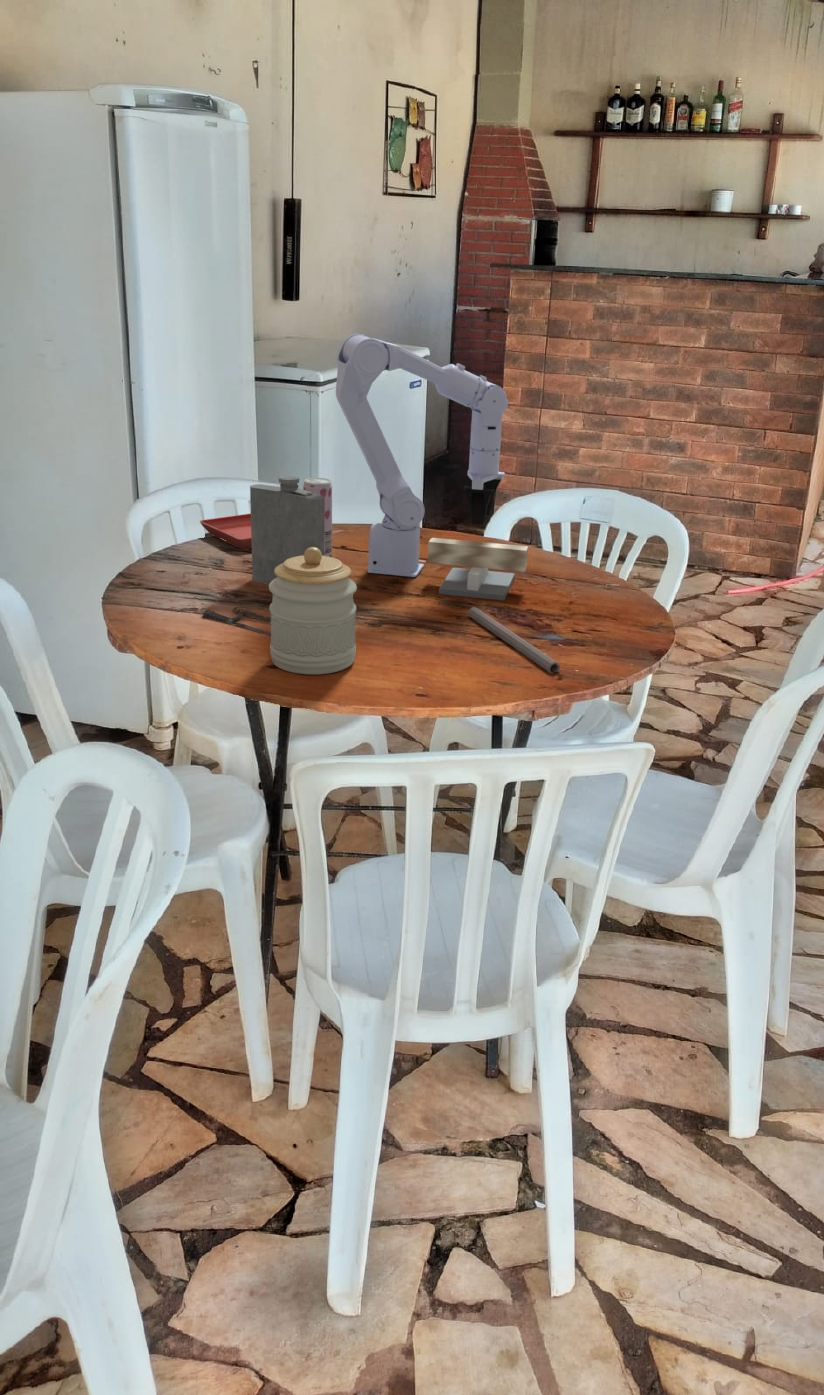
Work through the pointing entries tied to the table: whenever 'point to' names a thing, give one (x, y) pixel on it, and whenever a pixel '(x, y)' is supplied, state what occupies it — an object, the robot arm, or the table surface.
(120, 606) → the table surface
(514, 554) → the birch beam
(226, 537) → the plant saucer
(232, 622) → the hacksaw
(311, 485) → the beverage can
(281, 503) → the hip flask
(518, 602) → the table surface
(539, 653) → the metal rod
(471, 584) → the grey stepped base
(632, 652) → the table surface
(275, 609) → the jar
